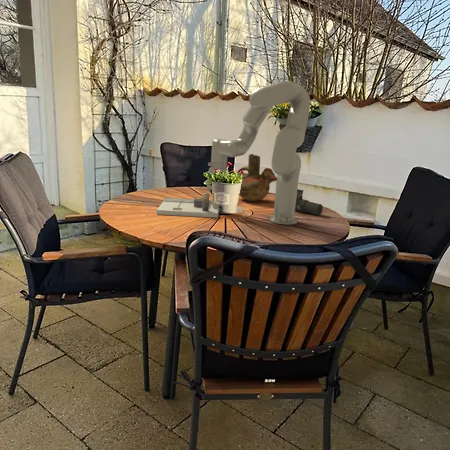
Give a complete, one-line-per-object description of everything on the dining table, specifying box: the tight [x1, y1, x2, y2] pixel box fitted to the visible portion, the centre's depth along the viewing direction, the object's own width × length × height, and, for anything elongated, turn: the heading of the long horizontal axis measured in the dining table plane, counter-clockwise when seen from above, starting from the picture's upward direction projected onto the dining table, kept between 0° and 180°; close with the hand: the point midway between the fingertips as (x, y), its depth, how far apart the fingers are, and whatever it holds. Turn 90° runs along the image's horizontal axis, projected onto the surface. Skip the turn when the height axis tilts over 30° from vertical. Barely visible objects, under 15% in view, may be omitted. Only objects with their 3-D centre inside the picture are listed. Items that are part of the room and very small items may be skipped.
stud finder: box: [194, 196, 203, 207], centre depth 205 cm, size 8×6×3 cm
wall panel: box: [156, 197, 220, 218], centre depth 203 cm, size 24×28×4 cm
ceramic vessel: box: [237, 153, 277, 202], centre depth 227 cm, size 17×26×25 cm, turn 61°
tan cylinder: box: [202, 192, 210, 211], centre depth 195 cm, size 3×3×8 cm
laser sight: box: [295, 188, 324, 216], centre depth 212 cm, size 10×22×10 cm, turn 48°
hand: (216, 203), depth 205 cm, fingers closed
